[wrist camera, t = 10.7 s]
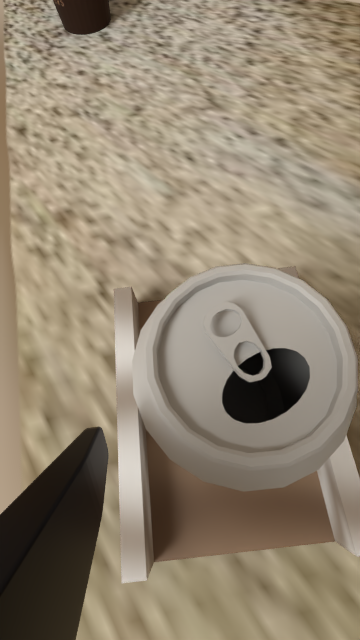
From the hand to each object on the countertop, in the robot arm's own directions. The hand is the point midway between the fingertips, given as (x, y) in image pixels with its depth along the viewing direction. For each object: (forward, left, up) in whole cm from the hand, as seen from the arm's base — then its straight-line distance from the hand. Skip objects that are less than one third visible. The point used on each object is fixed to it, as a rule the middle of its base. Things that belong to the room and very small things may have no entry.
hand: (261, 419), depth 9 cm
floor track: (+2, 0, -12) cm, 13 cm away
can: (+2, 0, -12) cm, 12 cm away
